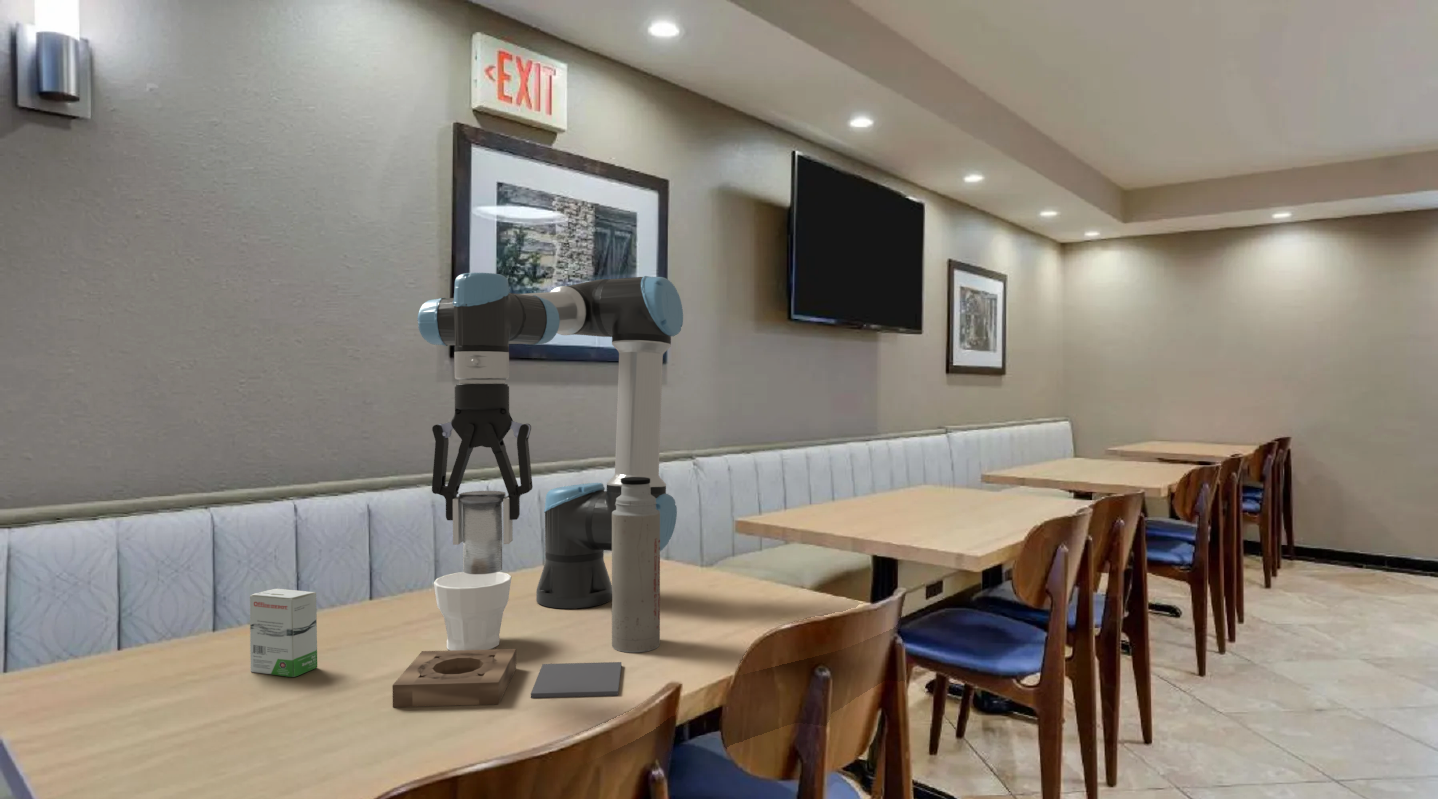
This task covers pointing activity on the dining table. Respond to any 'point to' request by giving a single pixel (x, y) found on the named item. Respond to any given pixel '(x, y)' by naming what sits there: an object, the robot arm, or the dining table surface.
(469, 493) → the glass jar
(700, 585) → the dining table surface
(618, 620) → the thermos bottle
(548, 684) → the mat
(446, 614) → the cup
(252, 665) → the ink box
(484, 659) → the block
